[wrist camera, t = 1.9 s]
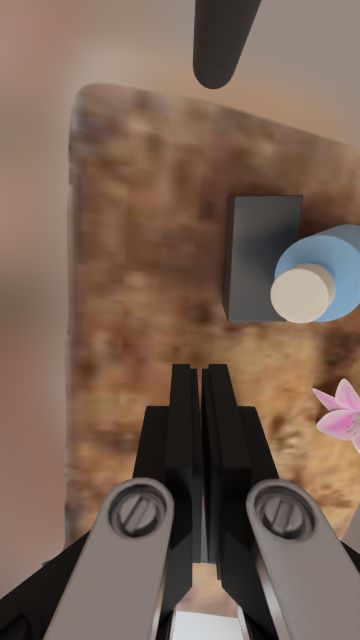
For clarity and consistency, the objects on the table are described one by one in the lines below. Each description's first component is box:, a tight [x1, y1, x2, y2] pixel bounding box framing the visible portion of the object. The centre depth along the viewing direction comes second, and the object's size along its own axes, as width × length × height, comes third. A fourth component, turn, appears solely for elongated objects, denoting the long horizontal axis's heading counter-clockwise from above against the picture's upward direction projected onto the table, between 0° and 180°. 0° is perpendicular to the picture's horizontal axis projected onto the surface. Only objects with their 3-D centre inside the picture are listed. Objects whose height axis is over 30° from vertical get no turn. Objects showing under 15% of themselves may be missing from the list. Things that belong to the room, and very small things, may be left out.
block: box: [223, 195, 303, 322], centre depth 31 cm, size 12×6×5 cm, turn 0°
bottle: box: [270, 224, 360, 323], centre depth 26 cm, size 14×7×16 cm, turn 91°
